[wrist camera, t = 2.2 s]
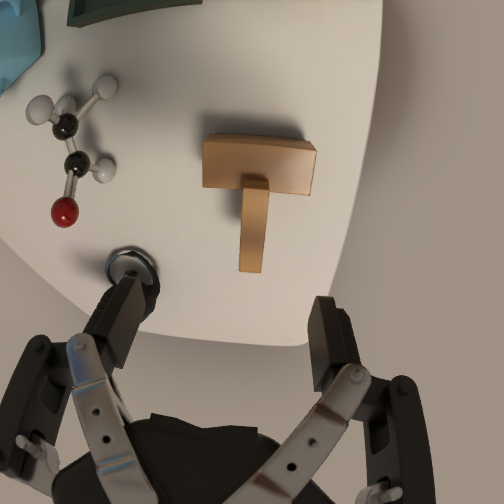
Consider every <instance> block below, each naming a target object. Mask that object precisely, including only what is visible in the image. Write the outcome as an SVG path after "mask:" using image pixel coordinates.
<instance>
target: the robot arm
mask: <svg viewBox="0 0 504 504" xmlns="http://www.w3.org/2000/svg"><path fill="white" fill-rule="evenodd" d="M144 312H145V299H144V295H143V290H142V286H141V281H140V279H139V278H136V277H128V276H123V277H122V279H121V280H120V282H119V284H118V285H117V286H114V285H113V286H112V287H111V288H109V289H108V290H107V291H106V292H105V293H104V295H103V296H102V298H101V300H100V302H99V303H98V305H97V308H96V309H95V310H94V312H93V314H92V316H91V318H90V319H89V322H88V323H87V325H86V327H85V329H84V331H83V333H79V334H76V335H74V336H72V337H71V338H70V339H69V340H68V342H58V343H52V342H51V341H50V339H49V338H48V337H47V336H45V335H36V336H35V337H33V338H32V339H30V341H29V342H28V344H27V346H26V348H25V350H24V352H23V354H22V356H21V358H20V360H19V362H18V364H17V366H16V368H15V370H14V373H13V375H12V377H11V379H10V382H9V384H8V387H7V389H6V391H5V394H4V397H3V399H2V402H1V404H0V472H1V473H3V474H5V475H6V476H7V477H9V478H12V479H14V480H16V481H19V482H21V483H23V484H27V485H29V486H31V487H32V488H34V489H36V490H38V491H40V492H41V493H43V494H45V495H47V496H49V497H51V498H52V499H53V503H54V504H335V503H334V502H333V501H332V500H331V499H330V498H329V497H328V496H327V495H326V494H325V493H324V492H323V491H322V490H321V489H320V487H319V486H318V485H317V484H316V483H315V482H314V481H313V480H312V479H311V478H312V477H313V475H314V474H315V473H316V472H317V470H318V469H319V468H320V466H321V465H322V464H323V462H324V461H325V460H326V458H327V457H328V456H329V454H330V453H331V451H332V450H333V448H334V447H335V446H336V444H337V442H338V441H339V440H340V438H341V437H342V435H343V434H344V432H345V431H346V429H347V427H348V425H349V424H348V423H349V421H350V419H353V420H358V421H362V422H363V426H364V436H365V449H366V467H367V487H366V488H364V489H363V490H362V491H361V492H360V493H359V494H358V495H357V497H356V501H355V504H436V498H435V485H434V476H433V467H432V460H431V453H430V446H429V440H428V435H427V429H426V424H425V419H424V414H423V409H422V405H421V400H420V396H419V392H418V388H417V385H416V384H415V382H414V381H413V380H412V379H411V378H409V377H407V376H404V375H399V376H396V377H394V378H393V379H392V380H391V381H389V380H385V379H380V378H377V377H374V376H372V375H370V373H369V371H368V370H367V369H366V368H365V367H364V366H362V364H361V361H360V357H359V353H358V349H357V344H356V340H355V337H354V333H353V329H352V325H351V322H350V318H349V316H348V315H347V313H346V312H345V311H344V310H343V309H339V308H336V306H335V301H334V298H333V297H329V296H316V298H315V300H314V304H313V307H312V310H311V313H310V316H309V320H308V339H309V347H310V356H311V364H312V375H313V385H314V392H322V396H321V398H320V399H319V400H318V402H317V403H316V404H315V405H314V406H313V407H312V409H311V410H310V411H309V412H308V414H307V415H306V416H305V417H304V419H303V420H302V421H301V422H300V424H299V425H298V426H297V427H296V428H295V430H294V431H293V432H292V433H291V434H290V436H289V437H288V438H287V439H286V440H285V441H284V443H283V444H282V445H280V444H279V443H278V442H276V441H275V440H273V439H271V438H270V437H267V436H265V435H263V434H259V433H257V430H258V428H257V427H245V426H232V425H229V426H221V427H212V428H200V427H197V426H195V425H192V424H190V423H187V422H185V421H182V420H180V419H178V418H174V417H169V416H164V415H159V414H154V413H151V417H150V419H143V420H138V421H135V422H134V421H133V420H132V418H131V416H130V414H129V412H128V411H127V409H126V407H125V404H124V402H123V399H122V397H121V395H120V392H119V390H118V387H117V384H116V382H115V379H114V377H113V374H112V372H113V370H114V367H116V368H120V369H123V366H124V364H125V361H126V358H127V355H128V353H129V350H130V348H131V345H132V342H133V340H134V337H135V335H136V332H137V330H138V327H139V325H140V323H141V320H142V318H143V315H144ZM72 387H74V388H72ZM71 392H72V397H73V401H74V404H75V407H76V411H77V414H78V418H79V421H80V424H81V427H82V430H83V433H84V435H85V438H86V441H87V444H88V447H89V449H90V451H89V452H87V453H86V454H85V455H83V456H82V457H80V458H79V459H77V460H76V461H74V462H73V463H71V464H70V465H68V466H66V467H65V468H63V469H62V470H59V465H60V461H59V457H58V453H57V451H56V449H55V448H54V446H55V442H56V438H57V435H58V431H59V427H60V424H61V421H62V417H63V414H64V411H65V408H66V405H67V402H68V398H69V396H70V393H71Z"/></svg>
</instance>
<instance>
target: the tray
mask: <svg viewBox="0 0 504 504" xmlns="http://www.w3.org/2000/svg"><path fill="white" fill-rule="evenodd" d="M202 1H203V0H70V3H69V10H68V18H67V26H70V27H78V28H81V27H84V26H87V25H91V24H94V23H97V22H101V21H104V20H108V19H112V18H116V17H120V16H124V15H128V14H133V13H138V12H143V11H149V10H154V9H161V8H168V7H176V6H185V5H197V4H202Z"/></svg>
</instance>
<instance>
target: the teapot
mask: <svg viewBox="0 0 504 504" xmlns="http://www.w3.org/2000/svg"><path fill="white" fill-rule="evenodd" d="M40 54H41V40H40V30H39V19H38V11H37V6H36V1H35V0H0V97H1V95H2V93H3V92H4V91H5V90H6V89H7V88H8V87H9V86H10V85H11V84H12V83H13V82H14V81H15V80H16V79H18V78H19V77H20V76H21V75H22V74H23V73H24V72H25V71H26V70H27V69H28V68H29V67H30V66H31V65H32V64H33V63H34V62H35V61H36V60H37V59H38V58H39V57H40Z"/></svg>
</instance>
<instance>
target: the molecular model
mask: <svg viewBox="0 0 504 504" xmlns="http://www.w3.org/2000/svg"><path fill="white" fill-rule="evenodd" d="M116 91H117V82H116V80H115V79H114V78H113V77H112V76H108V75H105V76H101V77H99V78H98V79H97V80H96V81H95V82H94V83H93V85H92V95H93V96H92V97H91V98H90V99H89V100H88V101H87V102H86V103H85V104H84V106H83V107H82V108H81V109H80V110H79V111H78V113H77V114H76V115H74V113H75V110H76V102H75V100H74V99H73V98H72V97H70V96H64V97H62V98H60V99H59V100H58V101H57V102H56V104H55V106H54V104H53V101H52V99H51V98H50V97H49V96H47V95H38V96H36V97H34V98H33V99H32V100H31V101H30V102H29V104H28V106H27V108H26V118H27V120H28V122H29V123H31V124H32V125H42V124H44V123H46V122H47V121H49V122H51V123H52V124H53V126H52V132H53V135H54V136H55V137H56V138H57V139H58V140H61V141H65V142H66V145H67V148H68V151H69V155H68V156H67V158H66V160H65V163H64V169H65V172H66V174H67V175H68V176H67V181H66V185H65V190H64V195H63V197H61V198H59V199H57V200H56V201H55V202H54V204H53V206H52V208H51V218H52V220H53V222H54V223H55V224H56V225H57V226H59V227H61V228H67V227H70V226H72V225H73V224H74V223H75V222H76V220H77V218H78V215H79V207H78V205H77V203H76V201H75V200H74V197H75V191H76V185H77V180H78V178H81V177H83V176H84V175H86V174H87V172H88V171H91V172H92V174H93V177H94V179H95V180H96V181H97V182H99V183H108V182H110V181H111V180H112V179H113V178H114V176H115V173H116V167H115V164H114V163H113V162H112V161H111V160H109V159H101V160H99V161H97V162H96V163H95V164H92V163H90V158H89V156H88V155H87V154H86V153H85V152H83V151H77V149H76V146H75V143H74V140H73V136H74V135H75V134H76V132H77V130H78V126H79V122H80V121H81V119H82V118H83V117H84V116H85V115H86V113H87V112H88V111H89V110H90V109H91V108H92V106H93V105H94V104H95V103H96V102H97V101H98V100H100V101H105V100H108V99H110V98H111V97H113V96H114V94H115V93H116ZM53 110H54V113H53ZM71 183H72V184H71ZM70 188H71V189H70ZM69 193H70V195H69Z"/></svg>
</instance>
